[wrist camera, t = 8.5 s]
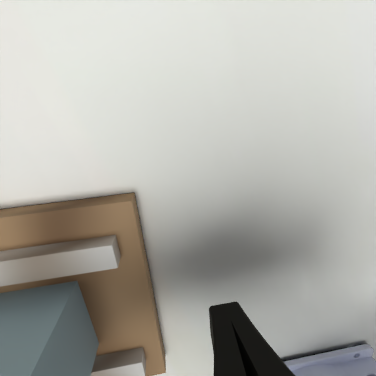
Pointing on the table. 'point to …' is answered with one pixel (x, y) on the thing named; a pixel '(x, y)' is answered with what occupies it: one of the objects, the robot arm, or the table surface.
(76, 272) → the boss board
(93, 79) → the table surface
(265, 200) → the table surface
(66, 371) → the panel block
